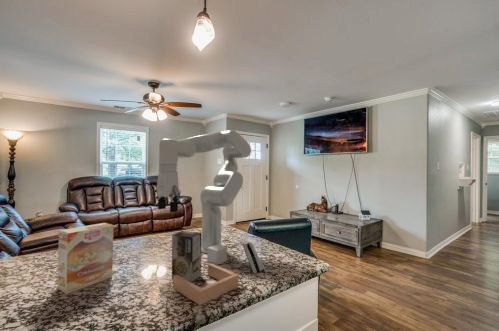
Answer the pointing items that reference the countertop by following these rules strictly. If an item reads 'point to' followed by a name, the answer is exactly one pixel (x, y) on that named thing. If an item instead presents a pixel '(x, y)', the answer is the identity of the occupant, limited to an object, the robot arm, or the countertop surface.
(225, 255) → the light grey cube
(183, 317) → the countertop surface
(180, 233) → the coffee box
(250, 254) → the grey game console
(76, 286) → the coffeecake box
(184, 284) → the bracket
